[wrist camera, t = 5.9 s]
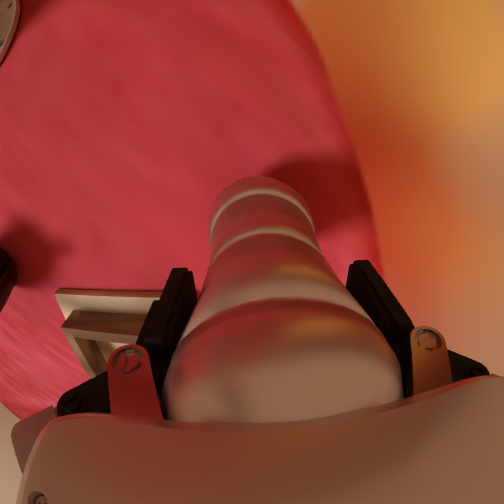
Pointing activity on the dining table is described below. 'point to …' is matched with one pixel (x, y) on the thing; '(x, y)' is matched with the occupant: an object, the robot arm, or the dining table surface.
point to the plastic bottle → (274, 322)
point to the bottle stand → (102, 322)
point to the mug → (6, 277)
